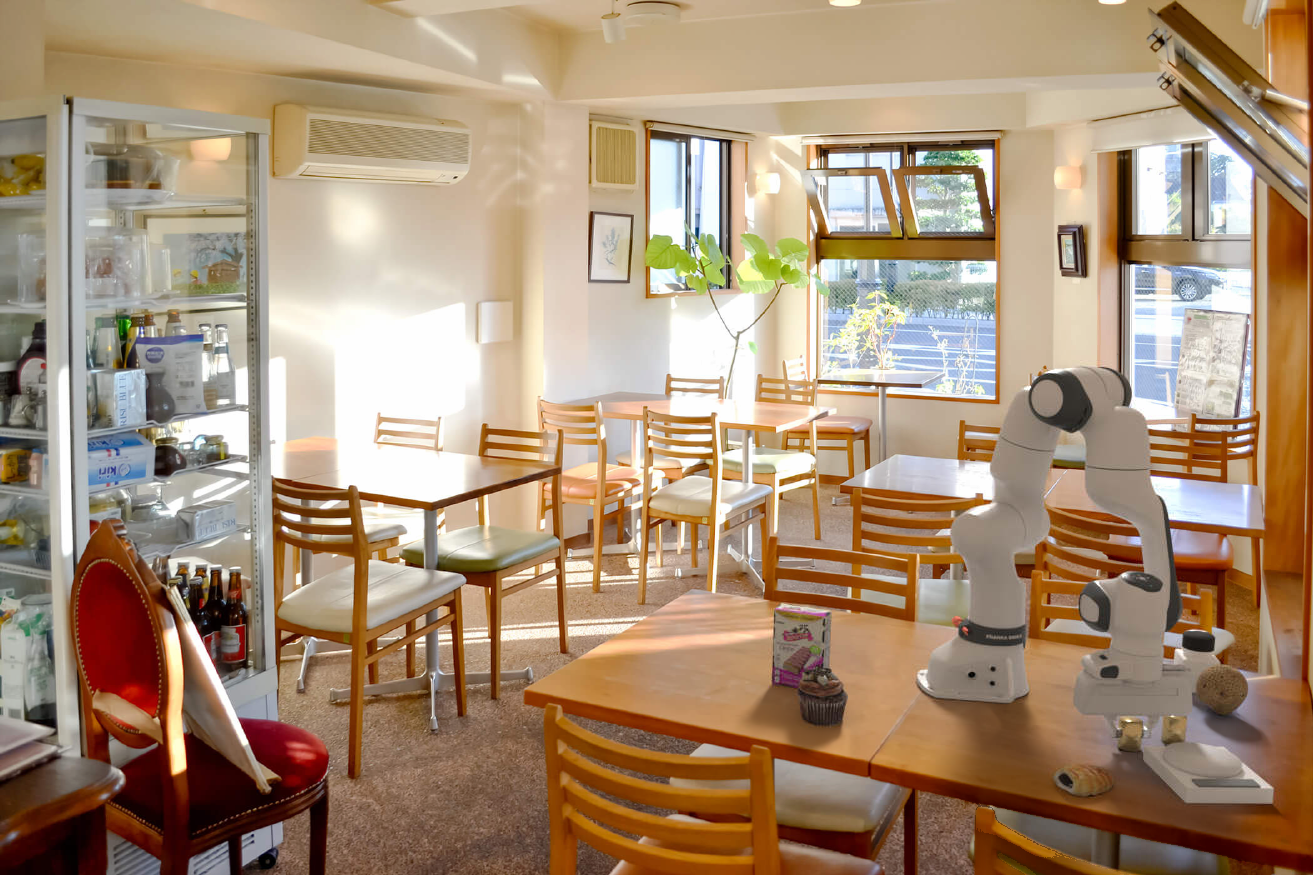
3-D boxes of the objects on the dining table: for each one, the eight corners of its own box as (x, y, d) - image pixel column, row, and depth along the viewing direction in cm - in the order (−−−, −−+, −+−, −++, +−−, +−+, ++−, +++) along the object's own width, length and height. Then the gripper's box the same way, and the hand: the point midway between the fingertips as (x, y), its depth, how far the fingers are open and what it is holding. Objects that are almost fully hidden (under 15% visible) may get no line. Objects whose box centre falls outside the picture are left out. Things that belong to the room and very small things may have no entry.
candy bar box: (770, 684, 229) (772, 608, 227) (778, 677, 234) (780, 602, 231) (823, 693, 224) (825, 616, 222) (829, 685, 229) (832, 609, 227)
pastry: (1094, 774, 189) (1096, 753, 188) (1123, 792, 183) (1125, 770, 182) (1049, 783, 186) (1051, 761, 185) (1077, 801, 180) (1078, 779, 179)
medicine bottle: (1218, 695, 225) (1223, 639, 223) (1180, 692, 226) (1185, 636, 224) (1208, 683, 232) (1212, 628, 230) (1172, 680, 233) (1176, 625, 231)
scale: (1185, 802, 179) (1187, 781, 178) (1142, 760, 194) (1144, 740, 194) (1272, 803, 179) (1274, 782, 178) (1222, 760, 194) (1224, 741, 194)
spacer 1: (1122, 751, 197) (1124, 724, 197) (1113, 741, 201) (1115, 715, 201) (1144, 751, 197) (1147, 725, 197) (1135, 742, 201) (1137, 716, 201)
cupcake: (835, 731, 206) (837, 680, 204) (788, 720, 211) (789, 670, 209) (855, 714, 214) (856, 665, 212) (809, 704, 219) (810, 656, 217)
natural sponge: (1222, 726, 209) (1226, 676, 208) (1183, 709, 217) (1187, 661, 216) (1255, 719, 213) (1260, 669, 211) (1216, 702, 221) (1220, 654, 220)
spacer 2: (1167, 746, 200) (1169, 720, 200) (1157, 737, 204) (1159, 711, 204) (1189, 746, 200) (1191, 720, 200) (1178, 737, 204) (1180, 711, 204)
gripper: (1185, 658, 200) (1179, 730, 202) (1072, 656, 200) (1067, 729, 202) (1202, 670, 194) (1195, 745, 196) (1085, 669, 194) (1080, 743, 196)
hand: (1129, 737), depth 199 cm, fingers closed on spacer 1, 4 cm apart
